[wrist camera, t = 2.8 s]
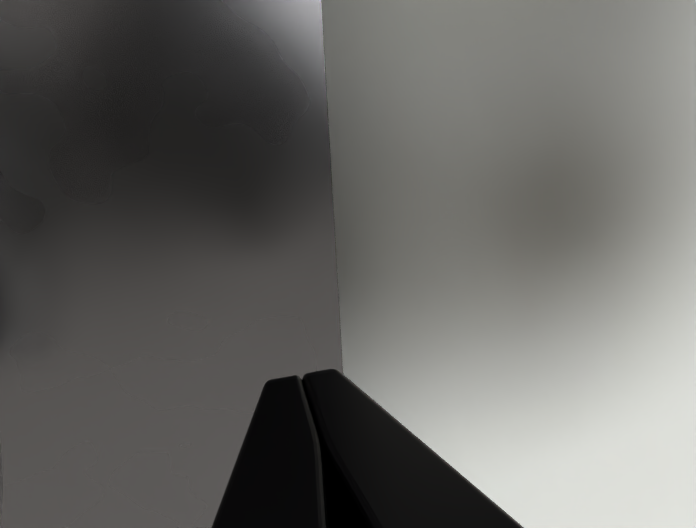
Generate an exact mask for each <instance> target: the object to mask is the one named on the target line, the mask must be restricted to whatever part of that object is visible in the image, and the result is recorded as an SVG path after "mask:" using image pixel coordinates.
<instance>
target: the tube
mask: <svg viewBox="0 0 696 528" xmlns="http://www.w3.org/2000/svg"><path fill="white" fill-rule="evenodd" d="M2 502H3V467H2V452H1V442H0V525H1V516H2Z"/></svg>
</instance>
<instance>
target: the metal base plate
mask: <svg viewBox="0 0 696 528" xmlns="http://www.w3.org/2000/svg"><path fill="white" fill-rule="evenodd" d="M326 369H336V370H338V371H340V372H341V373H342V374H343V366H342V349H341V332H340V315H339V297H338V280H337V263H336V246H335V228H334V211H333V194H332V177H331V160H330V142H329V125H328V108H327V91H326V73H325V56H324V39H323V22H322V5H321V0H0V442H1V452H2V467H3V502H2V516H1V525H0V528H211V527H212V524H213V522H214V519H215V516H216V513H217V511H218V508H219V505H220V503H221V500H222V497H223V495H224V492H225V489H226V486H227V484H228V481H229V478H230V476H231V473H232V470H233V468H234V465H235V462H236V459H237V457H238V454H239V451H240V449H241V446H242V443H243V441H244V438H245V435H246V432H247V430H248V427H249V424H250V422H251V419H252V416H253V414H254V411H255V408H256V405H257V403H258V400H259V397H260V395H261V392H262V389H263V387H264V385H265V383H266V382H267V381H268V380H271V379H276V378H282V377H287V376H293V375H297V376H299V377H300V378H301V379H302V378H303V375H304V374H306V373H310V372H315V371H321V370H326Z"/></svg>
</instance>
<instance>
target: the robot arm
mask: <svg viewBox="0 0 696 528" xmlns="http://www.w3.org/2000/svg"><path fill="white" fill-rule="evenodd" d="M211 528H524V527H522V526H521V525H520V524H519V523H518V522H516V521H515V520H514V519H513V518H512V517H511V516H509V515H508V514H507V513H506V512H505V511H504V510H502V509H501V508H500V507H499V506H498V505H496V504H495V503H494V502H493V501H492V500H491V499H489V498H488V497H487V496H486V495H485V494H483V493H482V492H481V491H480V490H479V489H478V488H476V487H475V486H474V485H473V484H472V483H470V482H469V481H468V480H467V479H466V478H465V477H463V476H462V475H461V474H460V473H459V472H458V471H456V470H455V469H454V468H453V467H452V466H450V465H449V464H448V463H447V462H446V461H445V460H443V459H442V458H441V457H440V456H439V455H437V454H436V453H435V452H434V451H433V450H432V449H430V448H429V447H428V446H427V445H426V444H425V443H423V442H422V441H421V440H420V439H419V438H417V437H416V436H415V435H414V434H413V433H412V432H410V431H409V430H408V429H407V428H406V427H404V426H403V425H402V424H401V423H400V422H399V421H397V420H396V419H395V418H394V417H393V416H392V415H390V414H389V413H388V412H387V411H386V410H384V409H383V408H382V407H381V406H380V405H379V404H377V403H376V402H375V401H374V400H373V399H371V398H370V397H369V396H368V395H367V394H366V393H364V392H363V391H362V390H361V389H360V388H359V387H357V386H356V385H355V384H354V383H353V382H351V381H350V380H349V379H348V378H347V377H346V376H344V375H343V374H342V373H341V372H340V371H338V370H336V369H326V370H321V371H315V372H310V373H306V374H304V375H303V378H302V379H301V378H300V377H299V376H297V375H293V376H287V377H282V378H276V379H271V380H268V381H267V382H266V383H265V385H264V387H263V389H262V392H261V395H260V397H259V400H258V403H257V405H256V408H255V411H254V414H253V416H252V419H251V422H250V424H249V427H248V430H247V432H246V435H245V438H244V441H243V443H242V446H241V449H240V451H239V454H238V457H237V459H236V462H235V465H234V468H233V470H232V473H231V476H230V478H229V481H228V484H227V486H226V489H225V492H224V495H223V497H222V500H221V503H220V505H219V508H218V511H217V513H216V516H215V519H214V522H213V524H212V527H211Z"/></svg>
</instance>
